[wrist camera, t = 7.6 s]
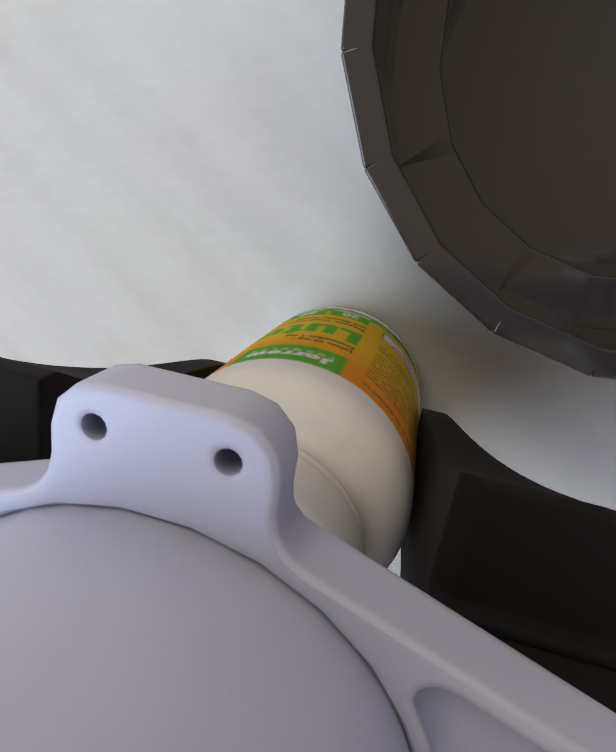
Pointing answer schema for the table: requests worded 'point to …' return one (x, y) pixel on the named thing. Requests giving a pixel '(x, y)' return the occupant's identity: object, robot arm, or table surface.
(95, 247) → the table surface
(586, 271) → the bowl
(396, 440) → the supplement bottle
